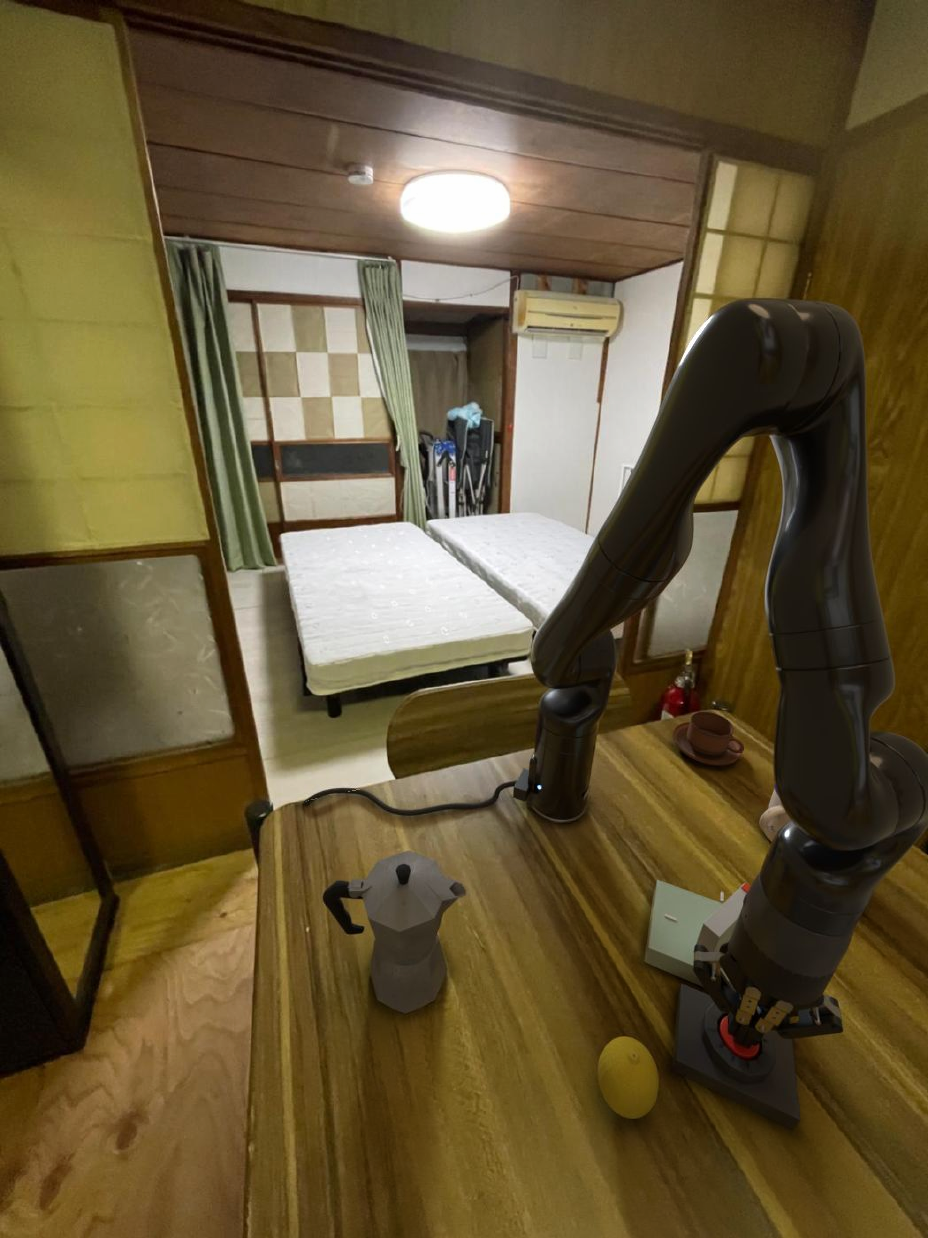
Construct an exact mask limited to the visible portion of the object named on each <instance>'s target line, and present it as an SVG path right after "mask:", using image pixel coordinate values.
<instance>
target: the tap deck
mask: <svg viewBox="0 0 928 1238" xmlns="http://www.w3.org/2000/svg"><path fill="white" fill-rule="evenodd" d="M724 893H725V892H724V891H720V899H719V900H720V901H717V900H714V899H712V898H709V897H706V896H704V895H701V894H698V893H695V892H693V891H690V890H687V889H684V888H682V887H679V886H676V885H674V884H670V883H668V882H666V881H662V880H660V879H657V880H656V883H655V887H654V890H653V894H652V902H651V908H650V909H651V910H650V917H649V922H648V923H649V924H648V932H647V938H646V944H645V945H646V946H645V954H644V960H643V962H644V963H645V964H648V965H651V966H652V967H655V968H657V969H660V970H662V971H665V972H666V973H668V974H671V975H673V976H676V977H678V978H681V979H684V980H685V981H688V982H690V983H693V984H695V985H698V986H700V987H702V988H704V986H703V985H702V983H701V982H700V980H699V979H698V977H697V976H696V974H695V973H694V971H693V961H694V952H693V951H694V946H695V945H696V943H697V940H698V937H699V934H700V931H701V928H702V926H703V923H704V922H705V921H706V920H707V919H708V918H709V917H710V916H711V915H712V914H713V913H714V912H715V911H716V910H717V909H718V908H719V907H720V906H721V905H722V904H723V903H724V902H725V900H724V899H725V898H724V897H725V896H724ZM720 969H721V971H722V973H723V974H724V976H725V977H726V979H727V980H728V982H729V983H730V985H731V989H732V990H734V991H735V992H736V990H735V989H734V987H733V986H732V984H731V982H730V981H729V979H728V977H727V976H726V974H725V972H724V971H723V969H722V968H720Z"/></svg>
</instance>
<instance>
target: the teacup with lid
mask: <svg viewBox="0 0 928 1238" xmlns="http://www.w3.org/2000/svg"><path fill="white" fill-rule="evenodd" d="M773 786H774V789H773V792H772V795H771V796H770V797H771V798H770V800H769V802H768V806H767V808H766V810H765V811H764V812H763V813H762V814H761V816H760V818H759V823H758V824H759V827H760V828H759V829H760V830H761V831H762V832H763V833H764V835H765V836H766V838H767V839H768V840H769V841H770V843H771V842H772V840H773V838H774V837H775V835H776V834H777V832H778V831H779V830H780V829H781V828H782V827H783V826H784V825H785V824H787V823H788V822H790V821H791V819H790V818H789V816H788V815H787V813H786V811H785V810H784V808H783V806H782V803H781V801H780V799H779V796H778V793H777V789H776V785H775V784H774V785H773Z"/></svg>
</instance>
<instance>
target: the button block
mask: <svg viewBox="0 0 928 1238" xmlns="http://www.w3.org/2000/svg"><path fill="white" fill-rule="evenodd" d="M728 1014H729V1012H723V1011H721V1010H719V1009H718V1007H717V1006H716V1004H715V1003H714V1001H713V1000H712V998H711V997H710V995H709V994H708V993H706V992H703V991H700V990H698V989H696V988H694V987H691V986H689V985H686V984H684V983H681V984H680V987H679V989H678V993H677V998H676V1013H675V1026H674V1028H675V1029H674V1037H673V1039H674V1040H673V1053H672V1063H671V1071H672V1072H674V1073H676V1074H678V1075H680V1076H682V1077H684V1078H686V1079H688V1080H690V1081H692V1082H694V1083H696V1084H698V1085H700V1086H703V1087H704V1088H706V1089H708V1090H711V1091H713V1093H717V1094H718V1095H721V1096H722V1097H725V1098H727V1099H729V1100H730V1101H733V1102H735V1103H737V1104H739V1105H741V1106H742V1107H745V1108H747V1109H750V1110H751V1111H753V1112H755V1113H757V1114H759V1115H761V1116H763V1117H766V1118H767V1119H770V1120H772V1121H774V1122H775V1123H777V1124H780V1125H782V1126H783V1127H786V1128H788V1129H790V1130H792V1131H794V1130H795V1129H796V1128H797V1126H798V1125H799V1123H800V1121H801V1112H800V1101H799V1092H798V1081H797V1073H796V1063H795V1053H794V1043H793V1039H785V1038H782V1037H781V1036H779V1035H778V1031H775V1030H770V1032H769V1033H766V1034H765V1033H764V1035H763V1037H762V1039H761V1041H760V1043H759V1050H758V1052H757V1054H756V1056H755V1058H754V1060H748V1061H746V1060H743V1059H741V1058H739V1057H737V1056H735V1055H733V1054H732V1053H731V1052H730V1051H729V1050H728V1049H727V1048H726V1047H725V1046H724V1044H723V1042H722V1040H721V1038H720V1036H719V1034H718V1032H717V1031H718V1028H719V1026H720V1024H721V1021H722V1020H723V1018H724V1017H726V1016H728Z"/></svg>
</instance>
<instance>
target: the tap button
mask: <svg viewBox="0 0 928 1238" xmlns="http://www.w3.org/2000/svg"><path fill="white" fill-rule="evenodd" d="M717 1032H718V1034H719V1036H720V1038H721V1040H722V1042H723V1044H724V1046H725V1047H726V1048H727V1049H728V1050H729V1051H730V1052H731V1053H732V1054H733V1055H735V1056H737V1057H739V1058H741V1059H743V1060H746V1061H748V1060H754V1058H755V1056H756V1054H757V1052H758V1050H759V1045H757V1046H754V1045H751V1047H750V1049H748V1048H746V1047H743V1046H741V1045H739V1044H737V1043H734V1042H733V1036H732V1035H729V1034H728V1016H726V1017H724V1018H723V1020H722V1021H721V1024H720V1026H719V1028H718V1031H717Z"/></svg>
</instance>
